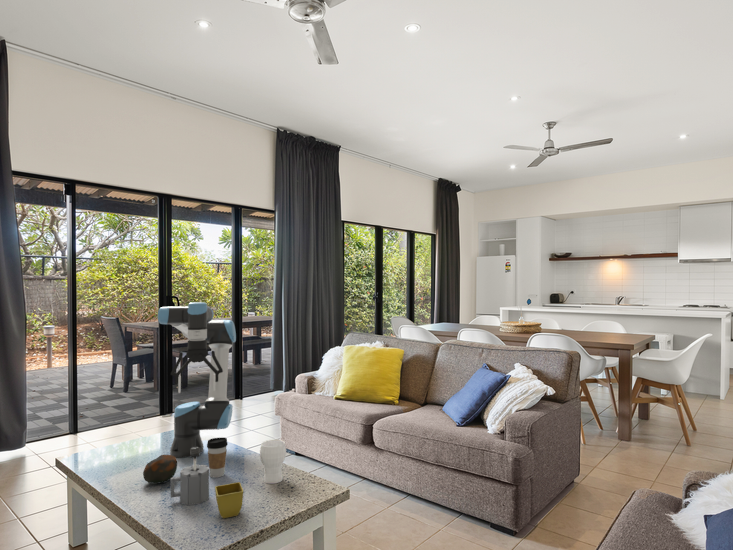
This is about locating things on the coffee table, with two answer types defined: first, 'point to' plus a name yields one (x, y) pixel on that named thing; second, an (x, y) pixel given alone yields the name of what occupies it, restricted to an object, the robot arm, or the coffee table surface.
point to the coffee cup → (217, 456)
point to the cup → (273, 460)
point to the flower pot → (229, 499)
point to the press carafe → (192, 485)
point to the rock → (160, 469)
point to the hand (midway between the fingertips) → (197, 391)
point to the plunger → (194, 454)
